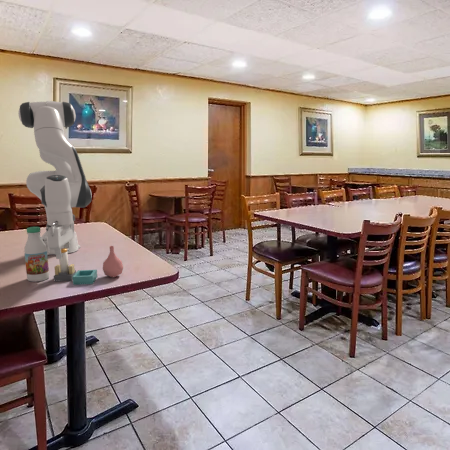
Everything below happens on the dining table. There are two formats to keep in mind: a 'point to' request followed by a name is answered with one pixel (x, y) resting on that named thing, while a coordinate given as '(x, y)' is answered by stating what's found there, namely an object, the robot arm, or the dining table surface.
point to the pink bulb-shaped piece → (112, 264)
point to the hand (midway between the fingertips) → (63, 255)
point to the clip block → (64, 273)
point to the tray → (84, 277)
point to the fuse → (64, 261)
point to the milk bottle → (36, 256)
